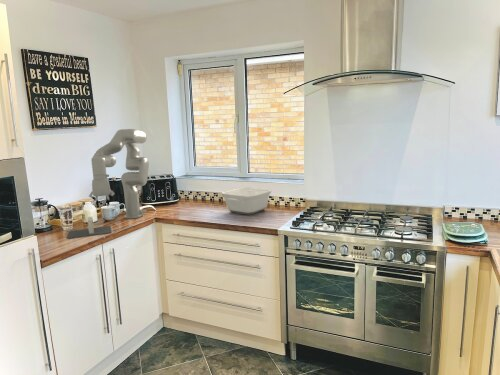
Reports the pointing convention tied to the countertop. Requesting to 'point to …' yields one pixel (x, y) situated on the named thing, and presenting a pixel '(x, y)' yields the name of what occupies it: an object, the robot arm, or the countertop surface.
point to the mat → (86, 232)
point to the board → (90, 225)
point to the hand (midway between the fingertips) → (103, 206)
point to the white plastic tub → (246, 200)
